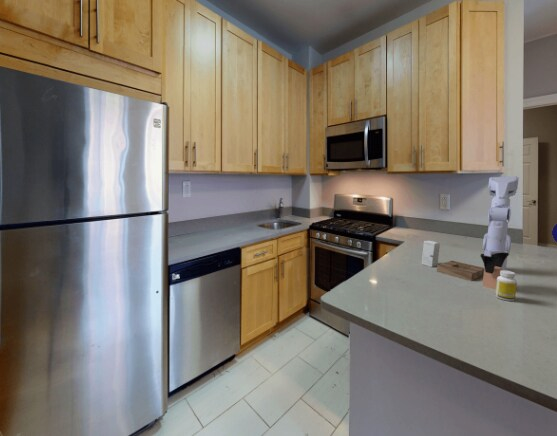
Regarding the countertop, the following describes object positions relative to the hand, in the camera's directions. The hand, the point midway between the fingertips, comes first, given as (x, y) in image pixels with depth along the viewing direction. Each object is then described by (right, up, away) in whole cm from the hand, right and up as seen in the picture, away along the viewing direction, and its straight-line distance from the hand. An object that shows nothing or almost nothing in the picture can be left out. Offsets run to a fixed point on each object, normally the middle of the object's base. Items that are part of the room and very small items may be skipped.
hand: (493, 271), depth 103 cm
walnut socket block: (-1, -4, +16) cm, 17 cm away
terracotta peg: (0, -6, +1) cm, 6 cm away
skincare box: (-9, -3, +28) cm, 30 cm away
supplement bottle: (-4, -8, -10) cm, 13 cm away
